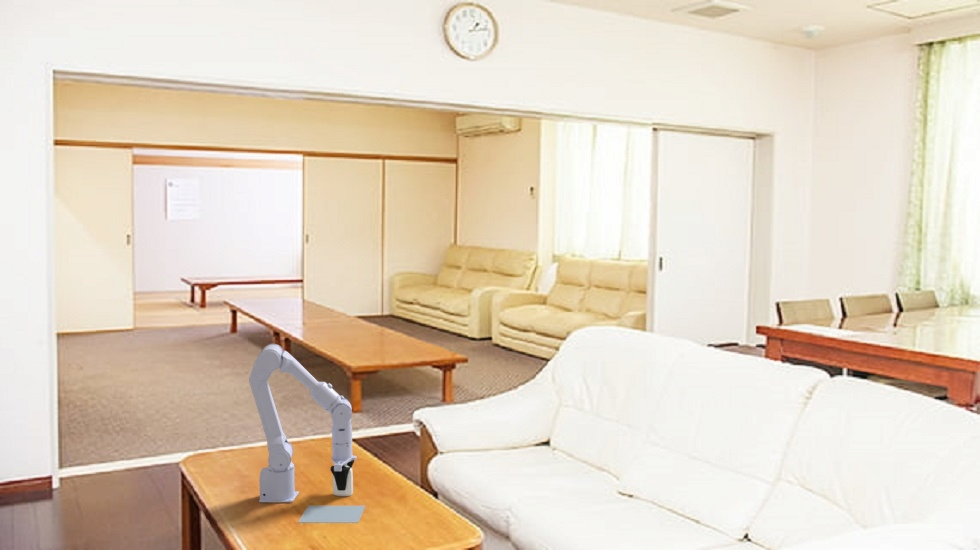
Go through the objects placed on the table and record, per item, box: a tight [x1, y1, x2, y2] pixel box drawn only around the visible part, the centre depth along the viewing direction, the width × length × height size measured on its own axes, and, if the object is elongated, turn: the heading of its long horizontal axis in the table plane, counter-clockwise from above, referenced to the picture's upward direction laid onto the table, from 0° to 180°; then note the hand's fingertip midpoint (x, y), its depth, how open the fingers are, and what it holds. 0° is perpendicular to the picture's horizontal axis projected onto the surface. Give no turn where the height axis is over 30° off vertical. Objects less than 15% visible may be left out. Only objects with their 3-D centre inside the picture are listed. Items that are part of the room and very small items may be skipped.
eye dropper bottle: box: [332, 463, 354, 497], centre depth 235 cm, size 4×6×12 cm
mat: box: [297, 505, 366, 524], centre depth 221 cm, size 16×12×1 cm
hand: (343, 487), depth 236 cm, fingers closed on eye dropper bottle, 3 cm apart
